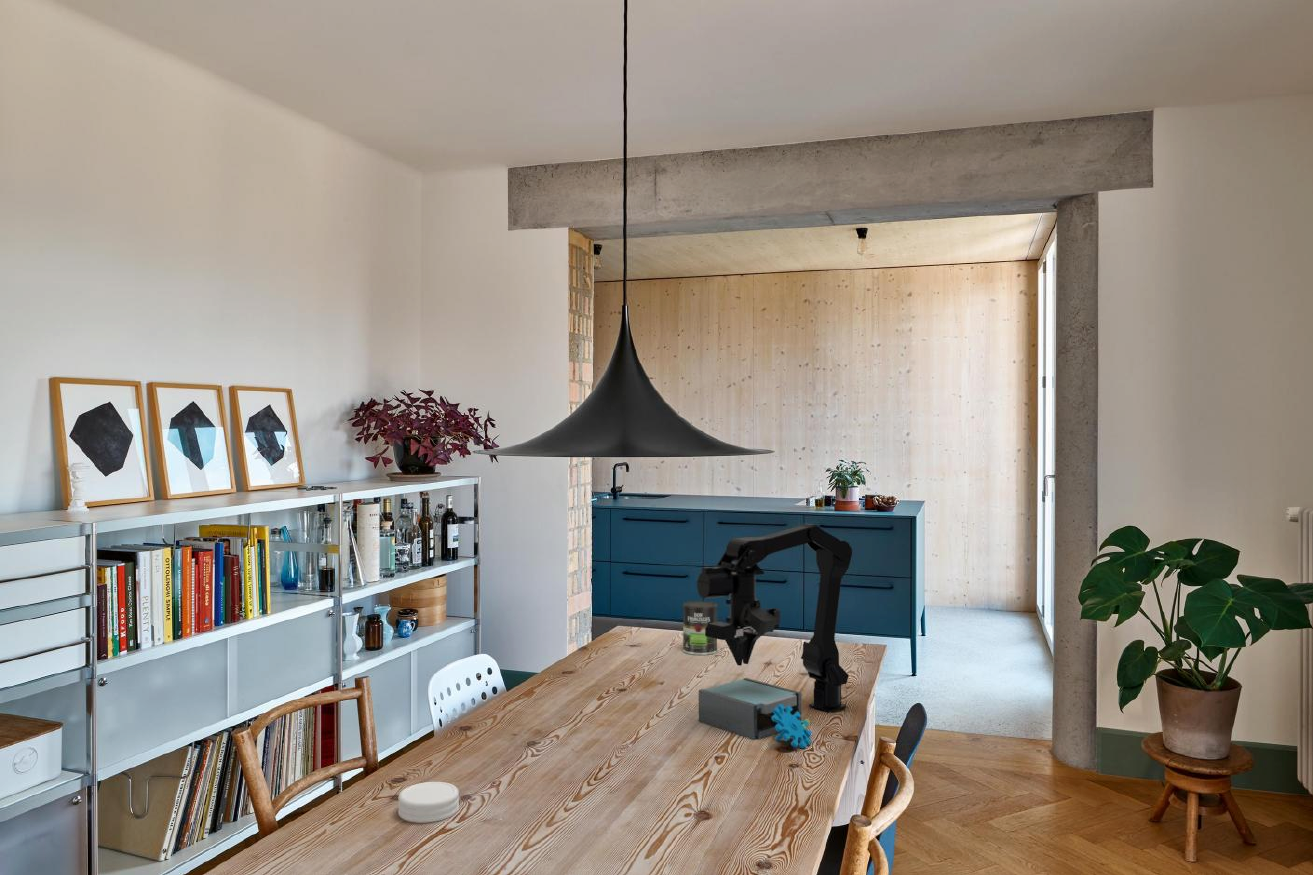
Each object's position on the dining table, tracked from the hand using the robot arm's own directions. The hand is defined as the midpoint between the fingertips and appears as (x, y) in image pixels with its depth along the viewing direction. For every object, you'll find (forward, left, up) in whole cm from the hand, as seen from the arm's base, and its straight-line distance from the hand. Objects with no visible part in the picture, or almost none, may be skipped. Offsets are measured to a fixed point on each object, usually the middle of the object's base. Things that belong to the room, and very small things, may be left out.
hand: (742, 664), depth 205 cm
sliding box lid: (0, +3, -8) cm, 8 cm away
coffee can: (-39, -54, -13) cm, 68 cm away
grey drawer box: (0, +2, -12) cm, 13 cm away
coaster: (+77, -2, -13) cm, 78 cm away
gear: (+3, +17, -13) cm, 22 cm away
